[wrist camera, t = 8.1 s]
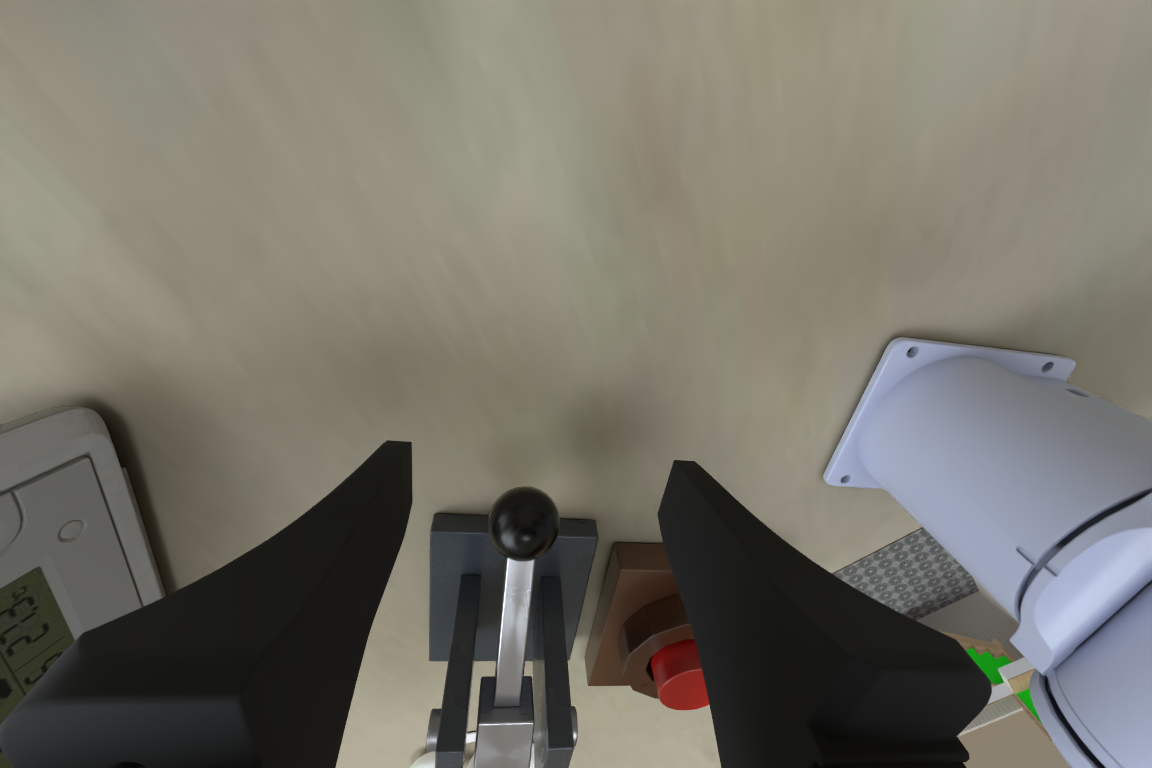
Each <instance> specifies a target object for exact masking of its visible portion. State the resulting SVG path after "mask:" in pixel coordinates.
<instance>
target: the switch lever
mask: <svg viewBox="0 0 1152 768" xmlns="http://www.w3.org/2000/svg"><path fill="white" fill-rule="evenodd" d="M559 529H560V517H559V512H558V509H557V507H556V505H555V503H554V502H553V500H552V499H551V498H550V497H549V496H548V495H547V494H546V493H544V492H543V491H541V490H539V489H536V488H533V487H527V486H523V487H517V488H513V489H511V490H509V491H507V492H505V493H504V494H502V495H501V496H500V497H499V498H498V499H497V500H496V501H495V503H494V504H493V506H492V508H491V510H490V513H489V516H488V534H489V538H490V540H491V542H492V544H493V546H494V547H495V548H496V550H497V551H498V552H499V553H500V554H501V555H503V556H504V557H506V564H505V574H504V585H503V595H502V606H501V616H500V627H499V637H498V648H497V659H496V669H495V677H482V678H481V684H480V695H479V706H478V717H477V728H476V741H475V753H474V766H473V768H530V760H531V751H532V742H533V733H534V724H535V719H534V704H533V688H532V677H531V676H523V675H524V666H525V656H526V647H527V637H528V627H529V618H530V608H531V599H532V589H533V579H534V570H535V560H536V559H537V558H539V557H541V556H543V555H544V554H545V553H547V552H548V551H549V550H550V549H551V547H552V546H553V544H554V543H555V541H556V539H557V537H558V534H559Z"/></svg>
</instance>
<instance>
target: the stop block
mask: <svg viewBox="0 0 1152 768" xmlns="http://www.w3.org/2000/svg"><path fill="white" fill-rule="evenodd" d="M685 639H695V638H694V635H693V631H692V628H691V625H690V621H689V618H688V616H687V613H686V610H685V607H684V604H683V601H682V598H681V595H680V592H679V590H678V587H677V584H676V581H675V578H674V575H673V572H672V569H671V566H670V563H669V560H668V557H667V554H666V551H665V548H664V544H642V543H614V547H613V551H612V554H611V558H610V562H609V566H608V570H607V574H606V577H605V581H604V585H603V589H602V593H601V597H600V600H599V604H598V608H597V612H596V616H595V620H594V624H593V627H592V631H591V635H590V639H589V643H588V647H587V650H586V654H585V664H586V673H587V682H588V686H631V688H632V689H633V690H634V691H637V692H639V693H642V694H645V695H647V696H650V697H653V698H657V699H659V697H658V693H657V688H656V684H655V680H654V676H653V672H652V667H651V659H652V656H653V655H654V654H655V653H657V652H658V651H659V650H661V649H662V648H663V647H664V646H667V645H670V644H673V643H676V642H679V641H682V640H685Z"/></svg>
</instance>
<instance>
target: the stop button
mask: <svg viewBox="0 0 1152 768" xmlns="http://www.w3.org/2000/svg"><path fill="white" fill-rule="evenodd" d="M651 667H652V672H653V676H654V680H655V684H656V688H657V693H658V697H659V700H660V701H661V702H662V704H663V705H665V706H666V707H668V708H671V709H675V710H693V709H698V708H701V707H704V706H707V705H709V700H708V695H707V690H706V685H705V681H704V676H703V672H702V667H701V663H700V659H699V655H698V651H697V646H696V642H695V639H685V640H682V641H679V642H676V643H673V644H670V645H667V646H664V647H663V648H662V649H661V650H659V651H658V652H657V653H655V654H654V655H653V656H652V659H651Z"/></svg>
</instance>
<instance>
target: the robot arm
mask: <svg viewBox="0 0 1152 768" xmlns="http://www.w3.org/2000/svg"><path fill="white" fill-rule="evenodd" d="M910 348H912V349H911V351H910V352H908V350H909V349H910ZM907 352H908V353H907ZM1075 366H1076V362H1075V360H1073V359H1070V358H1068V357H1066V356H1059V355H1050V354H1042V353H1033V352H1025V351H1016V350H1008V349H999V348H991V347H982V346H974V345H965V344H957V343H948V342H940V341H931V340H923V339H914V338H906V337H898V338H896V339H894V340H892V341H891V342H890V343H889V345H888V346H887V348H886V350H885V352H884V354H883V356H882V358H881V360H880V362H879V364H878V366H877V368H876V370H875V372H874V374H873V376H872V378H871V380H870V382H869V384H868V386H867V388H866V390H865V392H864V394H863V396H862V398H861V400H860V402H859V404H858V406H857V408H856V410H855V412H854V414H853V416H852V418H851V420H850V422H849V424H848V426H847V428H846V430H845V432H844V434H843V436H842V438H841V440H840V442H839V444H838V446H837V448H836V450H835V452H834V454H833V456H832V458H831V460H830V462H829V464H828V466H827V468H826V470H825V472H824V475H823V479H824V480H825V481H826V483H827V484H828V485H831V486H844V487H860V488H877V489H885V490H886V491H887V492H888V493H889V494H890V495H891V496H892V497H893V498H894V499H895V500H896V501H897V502H898V503H899V504H900V505H901V506H902V507H903V508H904V509H905V510H906V511H907V512H908V513H909V514H910V515H911V516H912V517H913V518H914V519H915V520H916V521H917V522H918V523H919V524H920V525H921V526H922V527H923V528H924V529H925V530H926V531H927V532H928V533H929V534H930V535H931V536H932V537H933V538H934V539H935V540H936V541H937V542H938V543H939V544H940V545H941V546H942V547H943V548H944V549H945V550H946V551H947V552H948V553H949V554H950V555H951V556H952V557H953V558H954V559H955V560H956V561H957V562H958V563H959V564H960V565H961V566H962V567H963V568H964V569H965V570H966V571H967V572H968V573H969V574H970V575H971V576H972V577H973V578H975V579H976V580H977V581H978V582H979V583H980V584H981V585H982V586H983V587H984V588H985V589H986V590H987V591H988V592H989V593H990V594H991V595H992V596H993V597H994V598H995V599H996V600H997V601H998V602H999V603H1000V604H1001V605H1002V606H1003V607H1004V608H1005V609H1006V610H1007V611H1008V612H1009V613H1010V614H1011V615H1012V616H1013V617H1014V618H1015V619H1016V620H1017V621H1018V622H1019V623H1020V624H1019V627H1018V628H1017V630H1016V632H1015V633H1014V634H1013V635H1012V636H1011V638H1010V642H1011V643H1012V644H1013V645H1014V646H1015V647H1016V648H1017V649H1018V650H1019V651H1020V652H1021V653H1022V654H1023V656H1024V657H1025V658H1026V659H1027V660H1028V661H1029V662H1030V663H1031V664H1032V665H1033V666H1034V667H1035V668H1036V669H1035V670H1034V671H1033V673H1032V676H1031V679H1030V682H1029V683H1030V695H1031V698H1032V701H1033V705H1034V707H1035V710H1036V712H1037V714H1038V716H1039V718H1040V720H1041V722H1042V724H1043V726H1044V728H1045V729H1046V731H1047V732H1048V734H1049V736H1050V737H1051V739H1052V741H1053V742H1054V744H1055V745H1056V747H1057V749H1058V750H1059V752H1060V753H1061V755H1062V756H1063V758H1064V759H1065V760H1066V762H1067V763H1068V764H1069V766H1070V767H1071V768H1152V421H1151V420H1148V419H1146V418H1144V417H1142V416H1140V415H1138V414H1135V413H1133V412H1131V411H1129V410H1127V409H1125V408H1122V407H1120V406H1118V405H1116V404H1114V403H1112V402H1110V401H1107V400H1105V399H1103V398H1101V397H1099V396H1097V395H1094V394H1092V393H1090V392H1088V391H1086V390H1084V389H1081V388H1079V387H1077V386H1075V385H1073V384H1071V383H1068V382H1066V380H1067V379H1068V377H1069V376H1070V375H1071V373H1072V372H1073V370H1074V369H1075ZM843 476H844V477H843ZM411 506H412V442H403V441H389V440H387V441H386V442H385V443H383V444H382V445H381V446H380V447H379V448H378V449H377V450H376V451H375V452H374V453H373V454H372V455H371V456H370V457H369V458H368V459H367V460H366V461H365V462H364V463H363V464H362V465H361V466H359V467H358V468H357V469H356V470H355V471H354V472H353V473H352V474H351V475H350V476H349V477H348V478H346V479H345V480H344V481H343V482H342V483H341V484H340V485H339V486H337V487H336V488H335V489H334V490H333V491H332V492H331V493H329V494H328V495H327V496H326V497H325V498H323V499H322V500H321V501H320V502H318V503H317V504H316V505H315V506H313V507H312V508H311V509H310V510H308V511H307V512H306V513H305V514H303V515H302V516H301V517H299V518H298V519H297V520H295V521H294V522H293V523H291V524H290V525H288V526H287V527H286V528H284V529H283V530H281V531H280V532H278V533H277V534H276V535H274V536H273V537H271V538H270V539H268V540H267V541H265V542H264V543H262V544H260V545H259V546H257V547H255V548H254V549H252V550H250V551H249V552H247V553H245V554H243V555H242V556H240V557H238V558H237V559H235V560H233V561H232V562H230V563H228V564H227V565H225V566H223V567H222V568H220V569H218V570H216V571H214V572H212V573H211V574H209V575H207V576H205V577H203V578H201V579H199V580H197V581H195V582H194V583H192V584H190V585H188V586H186V587H184V588H182V589H180V590H178V591H176V592H174V593H172V594H170V595H168V596H165V597H163V598H161V599H159V600H157V601H155V602H153V603H151V604H148V605H146V606H144V607H142V608H139V609H137V610H135V611H133V612H130V613H128V614H126V615H123V616H121V617H119V618H117V619H114V620H112V621H110V622H108V623H105V624H103V625H101V626H98V627H96V628H94V629H91V630H89V631H86V632H84V633H82V634H81V635H80V636H79V637H78V638H77V639H76V640H75V641H74V642H73V643H72V645H71V646H70V647H69V648H68V649H67V650H66V651H65V652H64V653H63V654H62V655H61V656H60V657H59V658H58V659H57V660H56V661H55V662H54V664H53V665H52V666H51V667H50V668H49V669H48V671H47V672H46V673H45V674H44V675H43V676H42V677H41V679H40V680H39V681H38V682H37V683H36V684H35V685H34V687H33V688H32V689H31V690H30V691H29V692H28V693H27V695H26V696H25V697H24V698H23V699H22V700H21V702H20V703H19V704H18V705H17V706H16V707H15V708H14V710H13V711H12V712H11V713H10V714H9V715H8V716H7V718H6V719H5V720H4V721H3V722H2V723H1V725H0V747H1V749H2V751H3V753H4V755H5V757H6V759H7V760H8V761H9V762H10V764H11V765H12V766H13V767H14V768H335V767H336V763H337V758H338V754H339V750H340V746H341V742H342V737H343V733H344V729H345V725H346V721H347V717H348V713H349V709H350V705H351V701H352V697H353V693H354V689H355V685H356V681H357V677H358V673H359V670H360V666H361V662H362V658H363V654H364V651H365V647H366V643H367V639H368V636H369V633H370V629H371V626H372V623H373V620H374V617H375V614H376V612H377V609H378V606H379V604H380V601H381V598H382V596H383V593H384V590H385V588H386V585H387V582H388V579H389V577H390V574H391V571H392V569H393V566H394V563H395V561H396V558H397V555H398V552H399V550H400V547H401V544H402V541H403V539H404V535H405V531H406V527H407V523H408V519H409V514H410V510H411ZM658 519H659V525H660V530H661V535H662V540H663V544H664V548H665V551H666V554H667V557H668V560H669V563H670V566H671V569H672V572H673V575H674V578H675V581H676V584H677V587H678V590H679V592H680V595H681V598H682V601H683V604H684V607H685V610H686V613H687V616H688V618H689V621H690V625H691V628H692V631H693V635H694V638H695V642H696V646H697V651H698V655H699V659H700V663H701V667H702V672H703V676H704V681H705V685H706V690H707V695H708V700H709V704H710V709H711V714H712V719H713V724H714V730H715V735H716V740H717V746H718V751H719V757H720V762H721V768H966V767H965V765H964V764H963V762H966V761H967V760H969V754H968V751H967V750H966V749H965V747H964V746H963V744H962V743H961V742H960V740H959V739H958V737H957V736H958V735H959V734H960V733H961V732H962V731H963V730H964V729H965V728H966V727H967V726H968V725H969V724H970V723H971V722H972V721H973V720H974V719H975V718H976V717H977V716H978V715H979V714H980V712H981V711H982V710H983V709H984V708H985V706H986V705H987V704H988V702H989V699H990V697H991V694H992V686H991V681H990V679H989V678H988V677H987V676H986V675H985V673H984V672H983V671H982V670H981V669H980V667H979V666H978V665H977V664H976V663H975V661H974V660H973V659H972V658H971V657H970V655H969V654H968V653H967V652H966V651H965V649H964V648H963V647H962V646H961V645H960V643H959V642H958V641H957V640H956V639H954V638H952V637H949V636H947V635H945V634H943V633H941V632H939V631H937V630H935V629H932V628H930V627H928V626H926V625H924V624H922V623H920V622H918V621H915V620H913V619H911V618H909V617H907V616H905V615H903V614H901V613H899V612H897V611H895V610H893V609H892V608H890V607H888V606H886V605H884V604H882V603H880V602H879V601H877V600H875V599H873V598H871V597H869V596H868V595H866V594H864V593H862V592H861V591H859V590H857V589H855V588H854V587H852V586H850V585H849V584H847V583H846V582H844V581H842V580H841V579H839V578H838V577H836V576H834V575H833V574H831V573H830V572H828V571H826V570H825V569H823V568H822V567H820V566H819V565H817V564H816V563H814V562H813V561H812V560H810V559H809V558H807V557H806V556H805V555H803V554H802V553H800V552H799V551H798V550H796V549H795V548H794V547H792V546H791V545H789V544H788V543H787V542H786V541H784V540H783V539H782V538H780V537H779V536H778V535H777V534H775V533H774V532H773V531H772V530H771V529H769V528H768V527H767V526H766V525H765V524H763V523H762V522H761V521H760V520H759V519H757V518H756V517H755V516H754V515H753V514H752V513H751V512H749V511H748V510H747V509H746V508H745V507H744V506H743V505H742V504H741V503H739V502H738V501H737V500H736V499H735V498H734V497H733V496H732V495H731V494H730V493H729V492H728V491H726V490H725V489H724V488H723V487H722V486H721V485H720V484H719V483H718V482H717V481H716V480H715V479H714V478H713V477H712V476H711V475H709V474H708V473H707V472H706V471H705V470H704V469H703V468H702V467H701V466H700V465H698V464H697V463H696V462H695V461H682V460H674V462H673V466H672V469H671V472H670V475H669V479H668V482H667V485H666V488H665V492H664V495H663V498H662V501H661V505H660V508H659V511H658Z"/></svg>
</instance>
